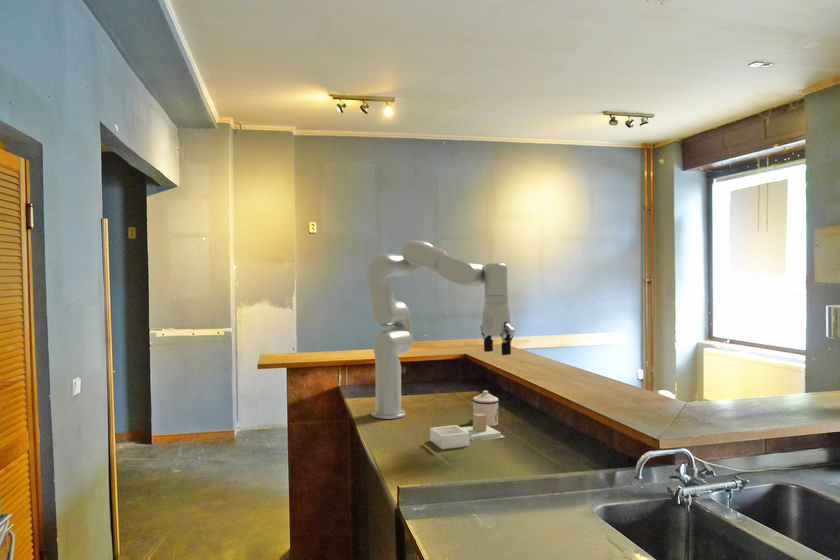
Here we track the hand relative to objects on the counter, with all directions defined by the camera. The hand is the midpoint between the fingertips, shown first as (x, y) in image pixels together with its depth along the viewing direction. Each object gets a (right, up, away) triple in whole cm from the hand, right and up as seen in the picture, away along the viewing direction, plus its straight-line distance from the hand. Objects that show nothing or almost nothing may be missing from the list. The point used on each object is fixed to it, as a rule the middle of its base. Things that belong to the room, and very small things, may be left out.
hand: (497, 353), depth 169 cm
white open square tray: (-16, -26, -12) cm, 33 cm away
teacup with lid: (-3, -27, +12) cm, 29 cm away
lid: (-6, -26, -2) cm, 27 cm away
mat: (-6, -26, -2) cm, 27 cm away
